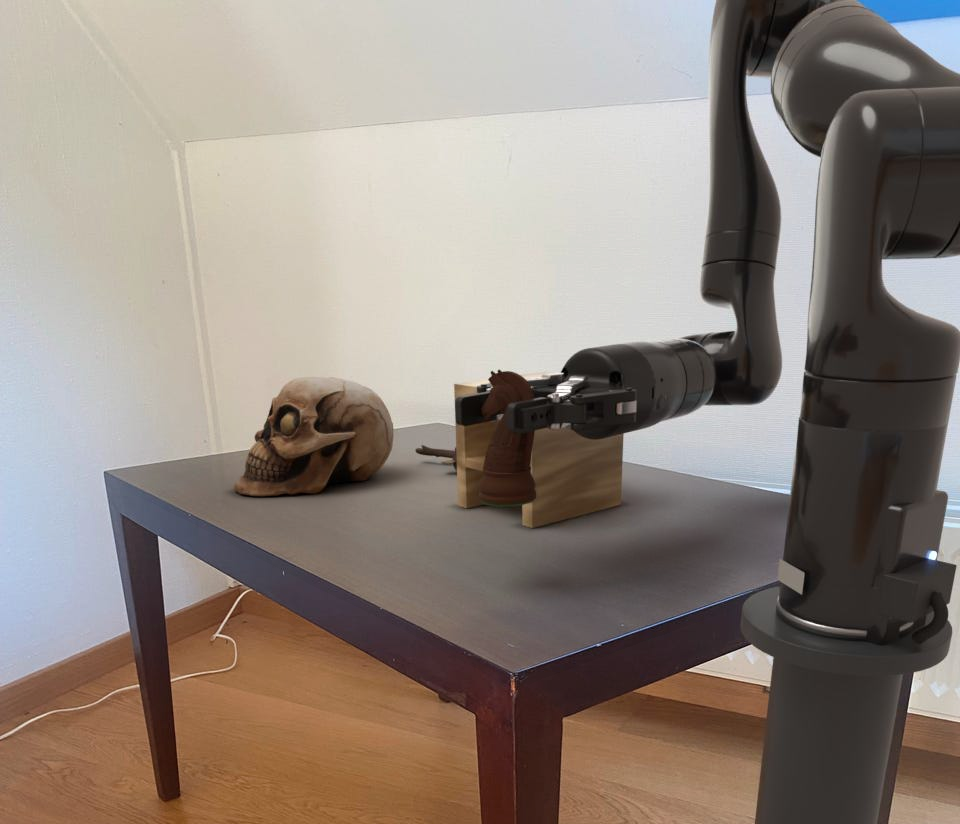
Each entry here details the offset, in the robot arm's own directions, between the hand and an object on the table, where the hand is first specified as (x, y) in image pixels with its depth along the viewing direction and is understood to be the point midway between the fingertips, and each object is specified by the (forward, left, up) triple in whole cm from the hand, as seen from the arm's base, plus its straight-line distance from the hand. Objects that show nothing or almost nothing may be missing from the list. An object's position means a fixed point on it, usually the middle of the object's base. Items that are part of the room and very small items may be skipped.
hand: (484, 415), depth 69 cm
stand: (+17, -22, -14) cm, 31 cm away
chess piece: (0, -3, -7) cm, 8 cm away
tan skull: (+44, -10, -14) cm, 48 cm away
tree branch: (+37, -31, -14) cm, 50 cm away
